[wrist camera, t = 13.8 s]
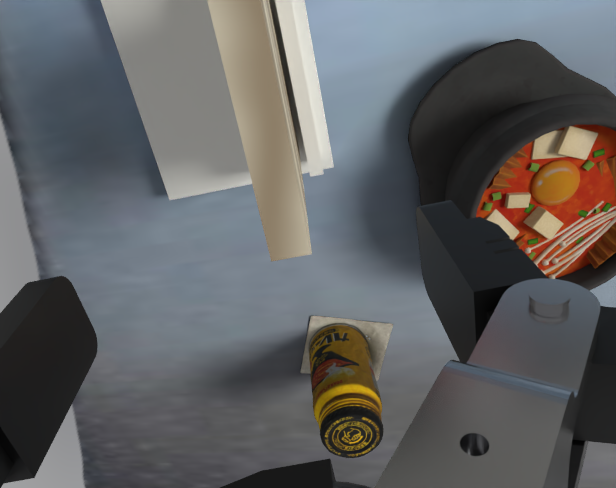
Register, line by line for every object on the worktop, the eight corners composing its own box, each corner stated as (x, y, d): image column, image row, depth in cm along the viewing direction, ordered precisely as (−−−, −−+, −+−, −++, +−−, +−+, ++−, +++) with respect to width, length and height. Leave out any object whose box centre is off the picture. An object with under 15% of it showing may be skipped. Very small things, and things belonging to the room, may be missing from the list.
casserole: (668, 216, 47) (742, 259, 39) (495, 322, 51) (531, 379, 44) (551, -20, 37) (620, -23, 30) (351, 136, 42) (367, 168, 34)
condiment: (310, 314, 50) (319, 403, 39) (393, 323, 51) (423, 411, 40) (300, 371, 53) (305, 467, 42) (377, 378, 54) (402, 473, 43)
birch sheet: (267, -15, 35) (256, -20, 19) (299, 149, 40) (311, 254, 24) (239, -9, 35) (204, -9, 19) (274, 154, 40) (271, 261, 24)
